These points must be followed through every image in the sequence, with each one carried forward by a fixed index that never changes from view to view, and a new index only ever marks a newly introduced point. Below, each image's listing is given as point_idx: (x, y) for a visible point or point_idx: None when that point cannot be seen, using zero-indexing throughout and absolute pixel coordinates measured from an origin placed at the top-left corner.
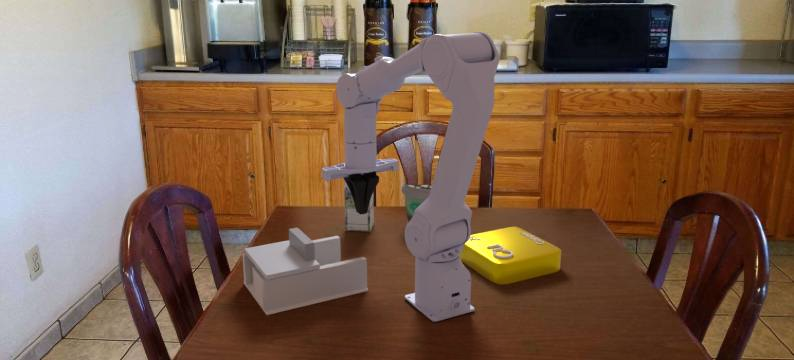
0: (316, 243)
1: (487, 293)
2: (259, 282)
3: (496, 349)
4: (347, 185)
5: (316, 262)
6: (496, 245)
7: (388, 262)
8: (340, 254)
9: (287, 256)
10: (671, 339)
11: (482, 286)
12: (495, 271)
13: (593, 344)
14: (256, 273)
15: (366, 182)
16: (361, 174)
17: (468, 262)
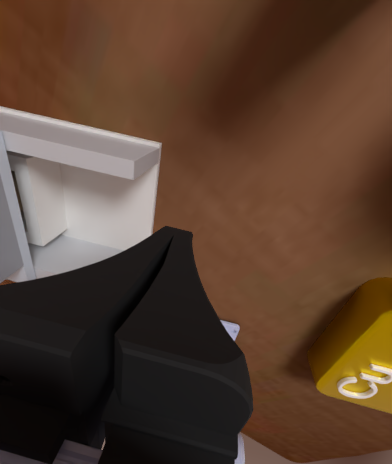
0: (65, 163)
1: (271, 358)
2: None
3: None
4: (63, 275)
5: (24, 276)
6: (389, 374)
7: (251, 211)
8: (150, 167)
9: None
10: (303, 455)
11: (285, 348)
12: (312, 371)
13: (251, 429)
14: None
15: (101, 446)
16: (82, 462)
17: (344, 314)
